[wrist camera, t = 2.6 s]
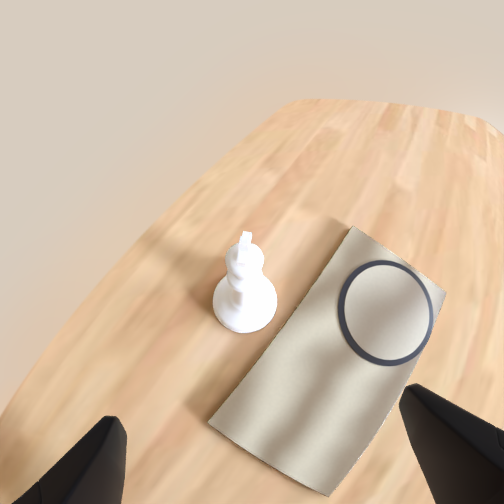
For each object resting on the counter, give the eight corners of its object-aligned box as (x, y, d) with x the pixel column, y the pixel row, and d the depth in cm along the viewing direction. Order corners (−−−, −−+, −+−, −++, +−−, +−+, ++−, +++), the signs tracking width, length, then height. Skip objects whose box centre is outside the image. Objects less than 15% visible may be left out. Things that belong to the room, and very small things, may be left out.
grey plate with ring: (443, 294, 23) (447, 292, 23) (326, 495, 16) (329, 498, 16) (350, 228, 26) (353, 224, 25) (207, 421, 19) (206, 422, 18)
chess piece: (206, 326, 22) (179, 280, 13) (220, 267, 24) (205, 191, 15) (271, 338, 22) (290, 300, 13) (281, 277, 24) (302, 205, 15)
